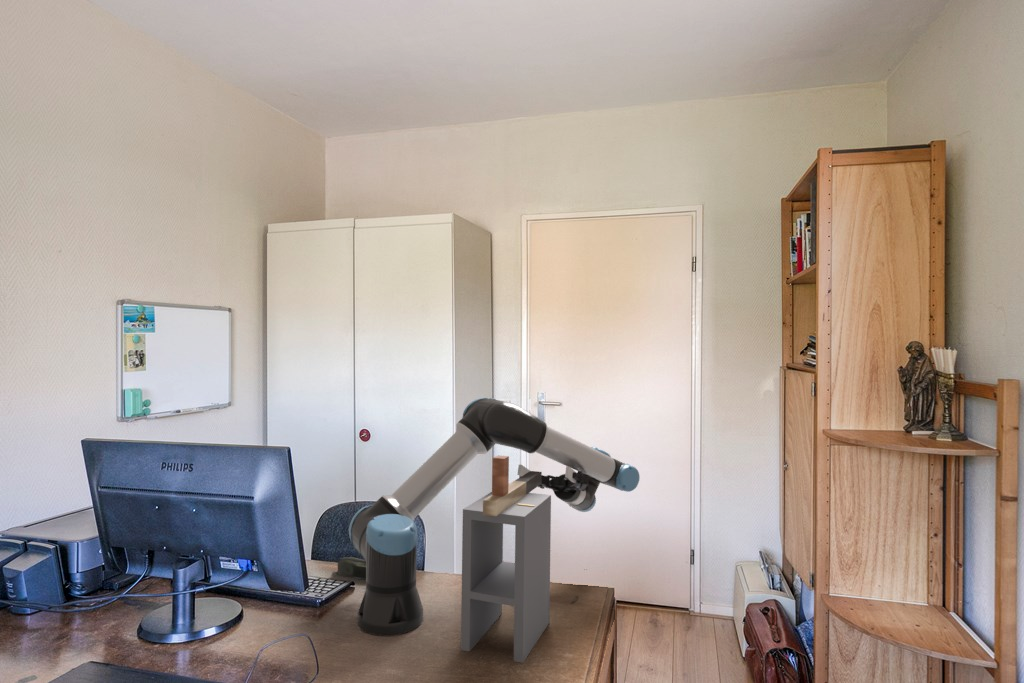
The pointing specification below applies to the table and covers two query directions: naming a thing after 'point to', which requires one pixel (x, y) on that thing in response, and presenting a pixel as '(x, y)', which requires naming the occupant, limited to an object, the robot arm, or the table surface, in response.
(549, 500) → the shelf
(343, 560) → the mobile phone
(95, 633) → the table surface
